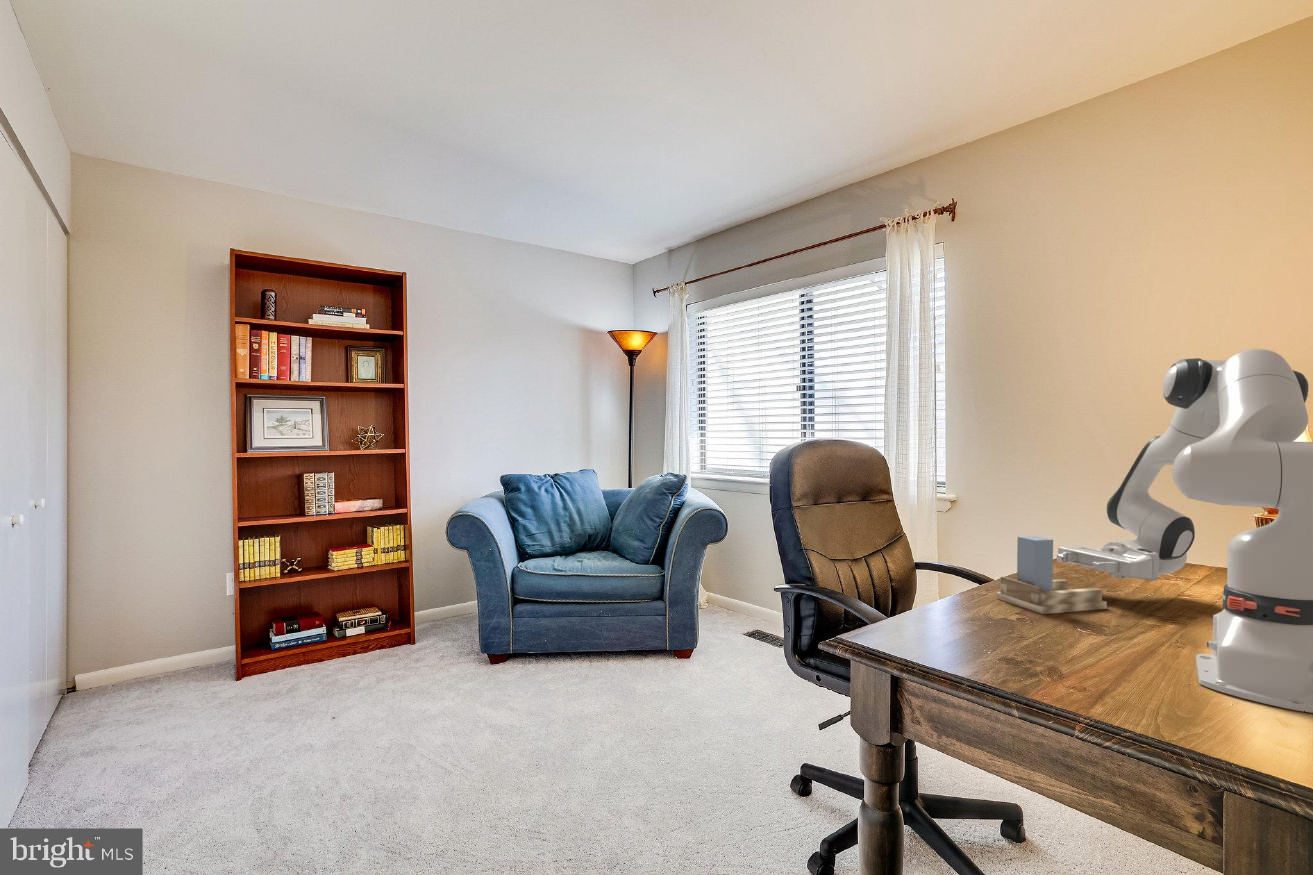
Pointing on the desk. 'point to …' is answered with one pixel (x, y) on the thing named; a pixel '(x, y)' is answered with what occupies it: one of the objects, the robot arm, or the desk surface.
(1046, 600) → the shallow wooden tray
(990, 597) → the desk surface
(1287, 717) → the desk surface
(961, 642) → the desk surface
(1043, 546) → the slate block
